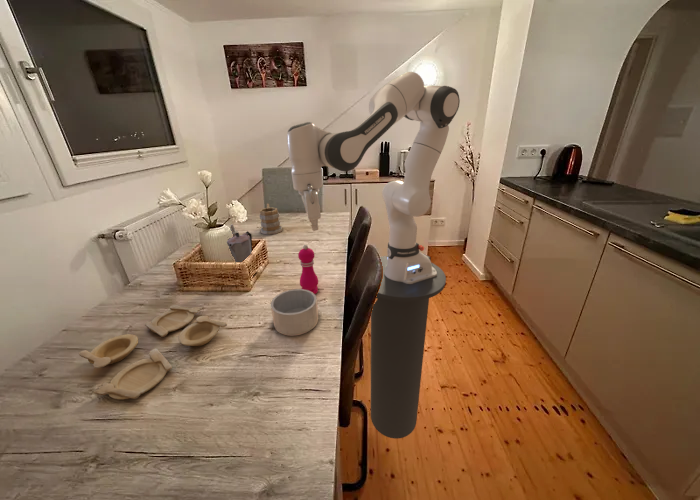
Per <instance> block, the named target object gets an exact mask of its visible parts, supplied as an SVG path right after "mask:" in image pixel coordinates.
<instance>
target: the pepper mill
mask: <svg viewBox="0 0 700 500" xmlns="http://www.w3.org/2000/svg"><path fill="white" fill-rule="evenodd" d="M297 254H298V255H297V256H298V260H299V263H300V266H301V275H300V277H299V286H300V287H301V289H304V290H309V291H311V292H313V293H314V294H315V295H316V294H318V292H319V290H318V289H319V287H318V285H319V277H318V276H317V274H316V272H315V270H314V264H315V260H314V259H315V251H314V250H313V249H312V248H309V246H308V244H303V246H302V248H301V249H300V250H299V251H298V253H297Z"/></svg>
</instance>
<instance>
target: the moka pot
mask: <svg viewBox="0 0 700 500" xmlns="http://www.w3.org/2000/svg"><path fill="white" fill-rule="evenodd" d="M235 235H236V236H234V237H232V238H229V239H227V241H226V244H227V247H228V246H229V248H228V250H229V249H230V251H231V254H232V256H233V257H234V259H235V261H234V262H235V263H236V262H242V261H243V260H245V259H246V258H247V257H248V256H249V255H250V254H251V255H252V253H253V252H252V251H253V236H252V233H251V232H250V231H248V230H247V231H245V233H242V234H240V233H236V234H235Z"/></svg>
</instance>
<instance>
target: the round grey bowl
mask: <svg viewBox="0 0 700 500" xmlns="http://www.w3.org/2000/svg"><path fill="white" fill-rule="evenodd" d="M270 310H271V315H272V321H273V326H274V329H275V331H277V332H278V334H281V335H284V336H289V337H290V336H293V337H295V336H300V335H303V334H306V333H308V332H310V331H311V330H313V329H314V328H315V327H316V326H317V324H318V323H319V310H318V298H317V295H316V294H314V293H313V292H311V291H309V290H304V289H302V288H294V289H288V290H284V291H282V292H280V293H278V294H277V295H276V296H274V297H273V298H272V300H271V302H270Z"/></svg>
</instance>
